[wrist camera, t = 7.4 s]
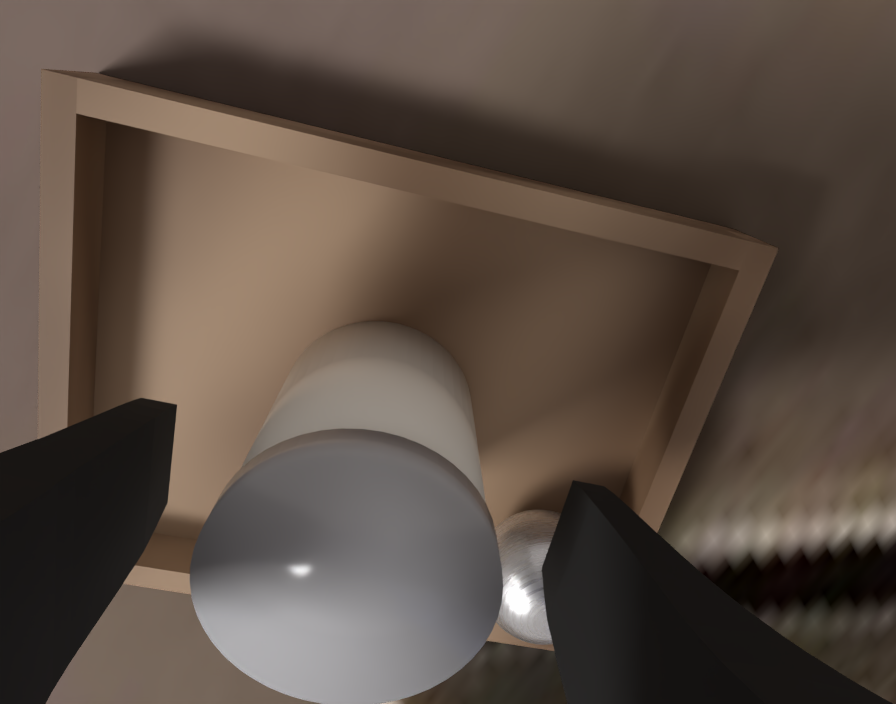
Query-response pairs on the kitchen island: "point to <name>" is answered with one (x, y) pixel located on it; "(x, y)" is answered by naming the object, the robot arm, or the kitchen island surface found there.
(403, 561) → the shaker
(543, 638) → the steel ball
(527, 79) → the kitchen island surface
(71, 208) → the tray
